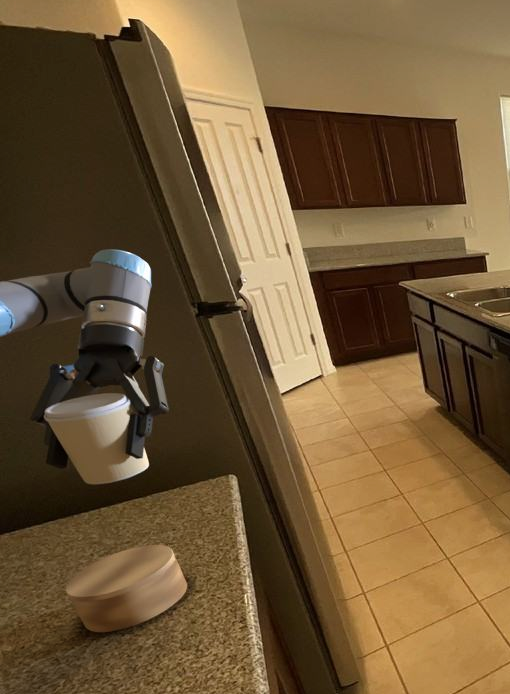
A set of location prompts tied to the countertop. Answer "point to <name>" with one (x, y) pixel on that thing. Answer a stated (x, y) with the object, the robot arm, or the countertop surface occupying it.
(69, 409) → the coffee cup
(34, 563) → the countertop surface
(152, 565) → the stand
